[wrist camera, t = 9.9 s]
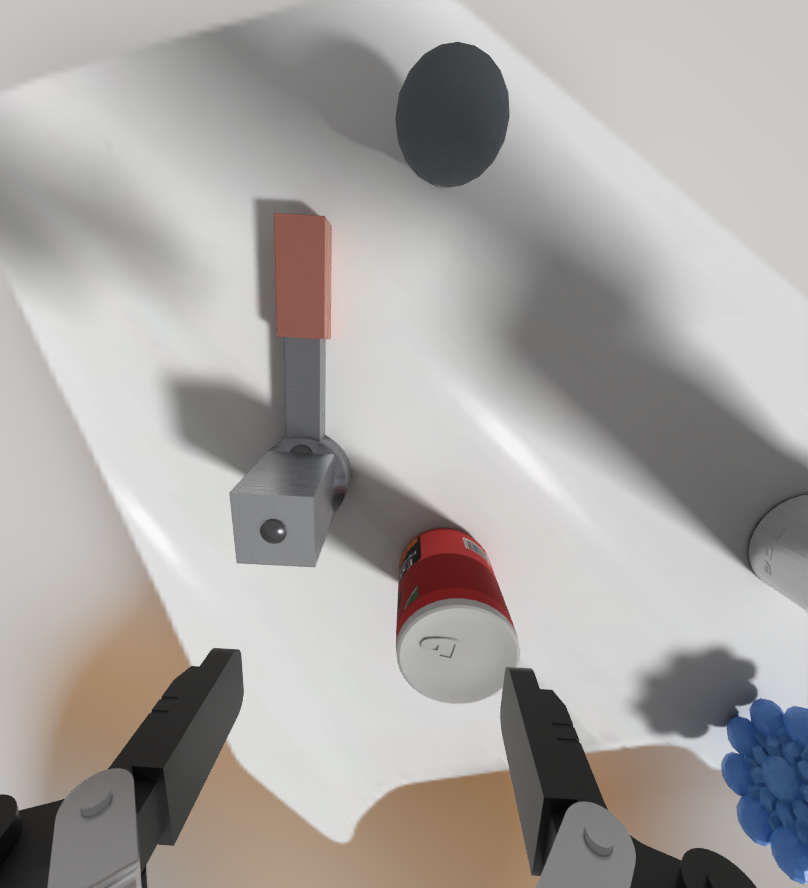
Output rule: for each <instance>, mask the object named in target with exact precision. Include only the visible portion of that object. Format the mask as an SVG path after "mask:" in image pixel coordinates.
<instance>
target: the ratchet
mask: <svg viewBox="0 0 808 888" xmlns="http://www.w3.org/2000/svg"><path fill="white" fill-rule="evenodd" d="M274 226H275V267H276V309H277V337H284V344H285V395H286V438H285V439H283V440H282V441H281V442H279V443H278V444H277V445H276V446H274V447H273V448H272V449H271V450H269V451H278V452H297V453H315V454H334V512H335V511H336V510H337V509H338V507H339V506H340V505H341V503H342V501H343V499H344V496H345V494H346V491H347V489H348V486H349V483H350V477H351V469H350V464H349V461H348V458H347V456H346V454H345V453H344V451H343V450H342V449H341V447H340V446H339V445H338V444H337V443H336V442H334V441H333V440H331V439H330V438H328V437H326V436H325V339H331V225H330V223H329V222H328V220H327V219H326V217H325V216H313V215H296V214H278V213H274Z"/></svg>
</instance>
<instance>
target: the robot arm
mask: <svg viewBox="0 0 808 888" xmlns="http://www.w3.org/2000/svg"><path fill="white" fill-rule="evenodd" d="M749 561H750V564H751V567H752V569H753V571H754V572H755V574H756V575H757V576H758V577H759V578H760V579H761V580H762V581H763V582H765V583H766V584H768V585H769V586H771V587H772V588H773V589H775V590H776V591H778V592H779V593H781V594H782V595H784V596H785V597H787V598H788V599H790V600H791V601H793V602H794V603H796V604H797V605H798V606H800V607H801V608H803V609H804V610H805V611H807V612H808V494H807V495H801V496H798V497H795V498H791V499H789V500H787V501H785V502H783V503H781V504H779V505H778V506H777V507H775V508H774V509H773V510H771V511H770V512H769V513H768V514H767V515H766V516H765V517H764V518H763V519H762V520H761V521H760V523H759V524H758V526H757V527H756V529H755V530H754V533H753V535H752V538H751V540H750V545H749ZM243 694H244V688H243V674H242V660H241V652H240V650H238V649H221V648H214V649H212V650H211V651H210V652H209V654H208V655H207V657H206V658H205V660H204V661H203V662H202V664H201V665H200V667H197V666H191V667H190V668H188V669H187V670H186V671H185V672H183V673H182V674H181V675H180V676H178V677H177V678H176V679H175V680H174V681H173V682H172V683H171V685H170V686H169V687H168V689H167V690H166V691H165V693H164V694H163V696H162V699H160V700H159V701H158V702H157V704H156V705H155V706H154V708H153V709H152V712H151V713H149V714H148V716H147V718H146V719H145V720H144V721H143V723H142V724H141V725H140V727H139V728H138V729H137V731H136V732H135V733H134V735H133V736H132V738H131V739H130V740H129V742H128V743H127V744H126V746H125V747H124V748H123V750H122V751H121V753H120V754H119V755H118V756H117V758H116V759H115V761H114V762H113V763H112V765H111V766H110V767H109V768H108V770H104V771H101V772H99V773H97V774H95V775H93V776H91V777H89V778H88V779H86V780H84V781H83V782H82V783H81V784H79V785H78V786H77V787H76V788H75V789H73V790H72V791H71V793H70V794H69V795H68V796H67V797H66V798H65V799H62V800H59V801H56V802H52V803H48V804H44V805H40V806H36V807H32V808H28V809H24V810H20V811H18V807H17V803H16V801H15V799H14V798H13V797H12V796H9V795H3V794H2V795H0V888H149V880H148V868H147V863H148V861H149V859H150V857H151V855H152V853H153V851H154V849H155V847H156V845H157V844H159V845H174V844H175V842H176V840H177V838H178V836H179V834H180V832H181V830H182V828H183V826H184V824H185V822H186V820H187V818H188V816H189V814H190V812H191V809H192V808H193V806H194V804H195V802H196V800H197V798H198V795H199V793H200V791H201V789H202V787H203V785H204V783H205V781H206V779H207V777H208V775H209V773H210V771H211V769H212V767H213V765H214V763H215V761H216V759H217V757H218V755H219V753H220V751H221V749H222V747H223V745H224V743H225V741H226V739H227V737H228V735H229V733H230V731H231V729H232V727H233V725H234V723H235V721H236V719H237V716H238V714H239V712H240V709H241V705H242V701H243ZM500 718H501V730H502V736H503V740H504V745H505V750H506V755H507V760H508V764H509V769H510V774H511V779H512V783H513V788H514V792H515V798H516V803H517V807H518V812H519V817H520V821H521V826H522V831H523V836H524V841H525V845H526V850H527V855H528V860H529V865H530V869H531V874H532V875H535V876H541V877H540V879H539V882H538V884H537V887H536V888H756V886H755V885H754V884H753V882H752V881H751V880H750V879H749V878H748V877H747V876H746V875H745V873H743V872H742V871H741V870H740V869H739V868H738V867H737V866H736V865H734V864H733V863H732V862H730V861H729V860H728V859H726V858H725V857H723V856H721V855H719V854H717V853H715V852H713V851H710V850H707V849H703V848H694V849H691V850H689V851H687V852H686V853H685V854H684V856H683V858H682V861H681V860H679V859H677V858H674V857H672V856H670V855H667V854H665V853H662V852H660V851H658V850H655V849H653V848H651V847H648V846H646V845H644V844H642V843H641V842H639V841H637V840H636V839H634V838H633V837H632V836H630V835H629V833H628V831H627V830H626V828H625V827H624V826H623V824H622V823H621V822H620V821H619V820H618V819H617V818H616V817H615V816H614V815H613V814H612V813H611V812H609V811H608V809H607V807H606V805H605V803H604V800H603V798H602V795H601V793H600V791H599V788H598V785H597V783H596V780H595V778H594V775H593V773H592V771H591V768H590V765H589V763H588V760H587V758H586V755H585V753H584V750H583V748H582V745H581V743H579V738H578V736H577V733H576V731H575V728H573V723H572V721H571V718H570V716H569V713H568V711H567V708H566V706H565V705H564V703H563V702H562V701H561V700H560V699H559V698H558V696H557V695H556V694H555V693H554V692H553V690H545V689H540V688H539V685H538V682H537V679H536V677H535V674H534V671H533V670H532V669H531V668H515V667H506V669H505V674H504V683H503V692H502V700H501V711H500Z"/></svg>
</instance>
